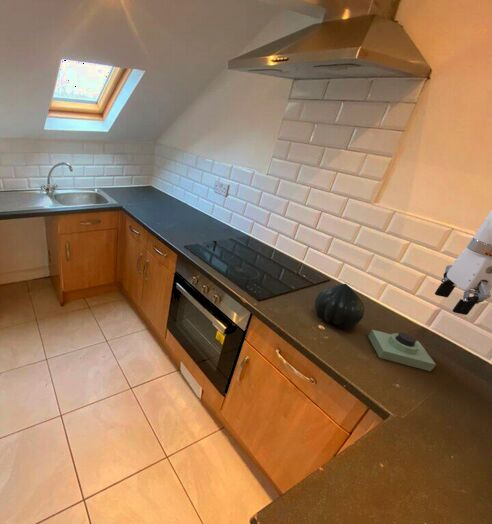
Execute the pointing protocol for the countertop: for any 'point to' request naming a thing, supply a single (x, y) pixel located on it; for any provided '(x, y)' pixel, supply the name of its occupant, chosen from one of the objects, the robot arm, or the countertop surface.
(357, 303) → the squash
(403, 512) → the countertop surface
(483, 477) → the countertop surface
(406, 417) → the countertop surface
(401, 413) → the countertop surface
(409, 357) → the knob plate
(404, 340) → the button
